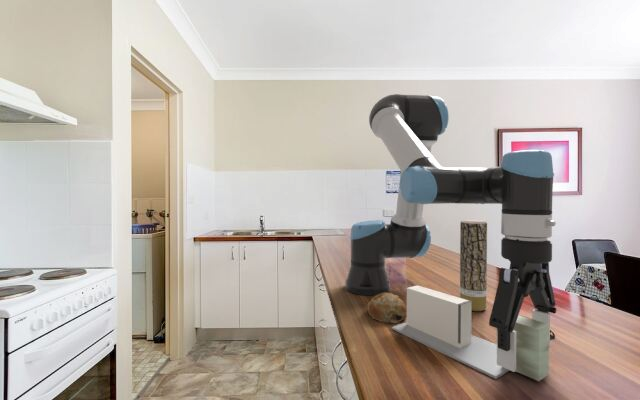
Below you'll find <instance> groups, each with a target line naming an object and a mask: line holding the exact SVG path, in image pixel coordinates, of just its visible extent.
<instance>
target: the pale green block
mask: <svg viewBox="0 0 640 400" xmlns="http://www.w3.org/2000/svg"><path fill="white" fill-rule="evenodd" d="M519 315H520V314H519ZM519 315H518V318H517V320H516V323H515V326H514V329H513V330H514V331H516V371H515V372H516V373H519V374H521V375H523V376H525V377H528V378H530V379H532V380H534V381H538V382H540V381H541V380H543V379H544V378H546V376H548V375H549V374H550V373H549V371H550V370H549V369H550V368H549V367H550V365H549V363H550V361H549V360H550V355H549V354H550V348H549V324H546V323H543V322H540V321H536V320H533V319H532V318H531V319H529V318H530V317H529V318H526V317H527V316H526V317H523V316H524V315H522V316H519Z"/></svg>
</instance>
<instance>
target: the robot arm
mask: <svg viewBox="0 0 640 400" xmlns="http://www.w3.org/2000/svg"><path fill="white" fill-rule="evenodd" d="M449 118H450V117H449V109H448V106H447V104H446V102H445V100H444V99H442V97H439V96H434V95H433V96H432V95H423V94H422V95H420V94H419V95H417V94H416V95H415V94H402V93H401V94H398V93H395V94H390V95H386V96H384V97H382V98H381V99H379V100H378V101H377V102H375V104H374V105H373V106H372V109H371V110H370V113H369V117H368V120H369V121H368V122H369V127H370V129H371V131H372V133H373V134H374V135H375V136H376V137H377V138H379V139H380V140H381V141H382V143H384V146H385V147H386V149H387V151H389V152H388V153H389V154H390V155H391V157H392V159H393V160H394V162H395V164H396V165H397V167H398V169H399V170H400V175H399V184H398V193H397V202H396V212H395V214H394V215H393V216H391V217H390V223H388V224H387V223H386V221H385V220H381V219H377V220H375V219H374V220H367V221H366V220H365V221H360V222H356V223H354V224H353V225H352V226H351V228H350V229H351V230H350V237H349V239H350V267H349V271H348V274H347V278H346V279H345V290H346V291H348V292H349V293H352V294H356V295H362V296H376V295H378V294H380V293H385V292H386V293H390V291H391V283H390V280H389V278H388V274H387V271H386V267H385V265H386V264H385V263H386V259H405V258H406V259H413V258H420V257H423V256H424V255H426V254H427V252H428V251H429V249H430V247H431V243H432V236H431V230H430V229H431V228H429V226H428V225H427V224H426V223H427V222H426V220H425V219H424V218H423V217H422V216H423V211H424V205H431V204H432V205H433V204H464V205H465V204H470V205H471V204H475V205H476V204H477V205H479V204H481V205H487V204H488V205H489V204H491V205H493V204H494V205H495V204H499V205H501V222H500V224H501V227H500V228H501V230H500V234H501V235H502V236H503V237H502V238H501V241H500V242H501V243H500V244H501V246H500V247H501V248H500V249H501V250H500V251H501V252H500V254H501V257H502V258H503V259H505V260H508V261H509V262H510V263H509V268H503V267H501V268H500V269H499V276H498V284H497V287H496V288H497V289H496V292H495V296H494V299H493V300H494V301H493V305H492V309H491V312H490V316H489V317H490V318H489V321H488V322H489V323H488V324H489V326H490V327H493V328H495V329H496V344H497V365H499V366H501V367H504V368H506V369H508V370H509V371H511V372H513V373H515V372H516V331H514V330H513V329H514V326H515V323H516V320H517V318H518V315H520V311H521V309H522V306H523V302H524V299H525V298H527V297H529V298H530V300H531V302H532V304H533V307H534V309H532V310H531V319H533V320H536V321H540V322H543V323H546V324H549V349H550V348H551V345H550V344H551V340H550V330H551V314H554V315H555V314H556V313H557V307H555V306H556V299H555V295H554V289H553V283H552V280H551V276H550V262H552V260H553V243H552V241H551V240H549V239H550V238H551V237H553V235H552V234H553V227H555V226H556V221H555V220H553V190H554V188H553V187H554V185H553V184H554V177H555V173H554V167H553V166H554V165H553V164H554V163H553V156H552V154H551V152H549V151H547V150H544V149H543V150H542V149H541V150H539V149H529V150H527V149H526V150H516V151H511V152H507V153H505V154H503V156H502V158H501V163H500V166H493V167H492V166H491V167H459V166H458V167H456V166H455V167H453V166H443V165H441V164H440V163H439V162H438V161H437V159H435V157H434V156H433V155H432V154H431V151H432V146H433V145H434V144H435V143H437V142H438V139H439V136H441V135H442V134H444V133H445V132H446V129H447V128H448V123H449Z"/></svg>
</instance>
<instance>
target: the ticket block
mask: <svg viewBox="0 0 640 400" xmlns="http://www.w3.org/2000/svg"><path fill="white" fill-rule="evenodd" d="M406 308H407V317H406V322H403V323H400V324H397V325H395V326H391V329H392V330H394V331H395V332H398V333H400V334H401V335H404V336H405V337H407V338H410V339H412V340H415V341H416V342H418V343H420V344H422V345H424V346H427V347H429V348H430V349H433V350H435V351H436V352H438V353H441V354H442V355H445V356H447V357H449V358H452V359H454V360H456V361H458V362H459V363H462V364H464V365H466V366H468V367H469V368H473V369H474V370H476V371H478V372H480V373H482V374H484V375H487V376H489V377H490V378H493V379H495V380H497V379H499V378H500V377H502V376H503V375H505V374H506V373H508V372H509V371H510V370H508V369H506V368H504V367H501V366H499V365H497V343H494V342H491V341H489V340H486V339H484V338H481V337H478V336H475V335H473V334H472V311H471V310H472V301H470V300H465V299H462V298H460V297H458V296H455V295H451V294H449V293H445V292H441V291H438V290H434V289H430V288H428V287H424V286H421V285H413V286H409V287H406Z"/></svg>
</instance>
